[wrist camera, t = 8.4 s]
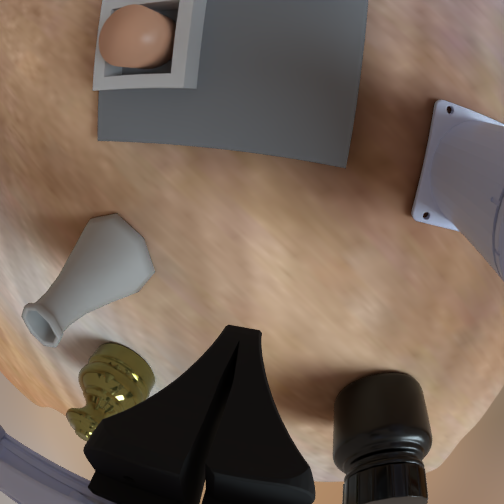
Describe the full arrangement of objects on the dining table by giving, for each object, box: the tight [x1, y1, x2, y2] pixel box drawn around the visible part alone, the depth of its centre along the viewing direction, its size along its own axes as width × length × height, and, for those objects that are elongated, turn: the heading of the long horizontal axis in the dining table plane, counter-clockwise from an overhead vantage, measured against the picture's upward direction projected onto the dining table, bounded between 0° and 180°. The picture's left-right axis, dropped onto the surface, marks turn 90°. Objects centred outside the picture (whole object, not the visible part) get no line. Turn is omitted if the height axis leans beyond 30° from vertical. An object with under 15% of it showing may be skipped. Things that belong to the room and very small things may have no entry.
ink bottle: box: [333, 373, 432, 504], centre depth 22 cm, size 10×9×12 cm
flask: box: [22, 213, 155, 347], centre depth 20 cm, size 7×7×10 cm
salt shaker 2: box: [66, 343, 155, 441], centre depth 27 cm, size 7×7×10 cm
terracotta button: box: [99, 4, 176, 69], centre depth 14 cm, size 4×4×3 cm
